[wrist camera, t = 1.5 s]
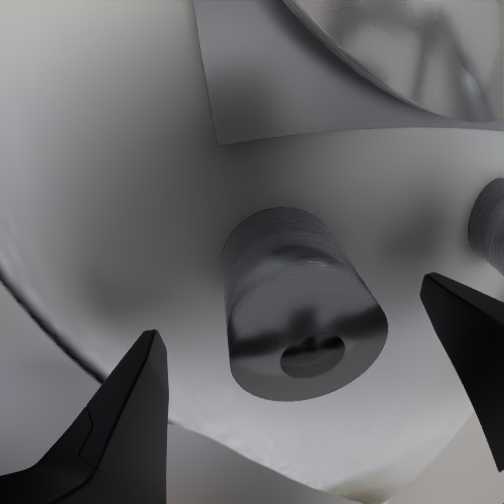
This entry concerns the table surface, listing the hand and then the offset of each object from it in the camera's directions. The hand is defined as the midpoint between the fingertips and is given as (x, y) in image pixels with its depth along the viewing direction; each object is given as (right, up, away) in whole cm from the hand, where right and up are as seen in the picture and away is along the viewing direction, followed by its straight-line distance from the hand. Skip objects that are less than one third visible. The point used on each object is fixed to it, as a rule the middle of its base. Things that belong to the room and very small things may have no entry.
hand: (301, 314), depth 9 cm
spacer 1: (0, +2, +3) cm, 3 cm away
